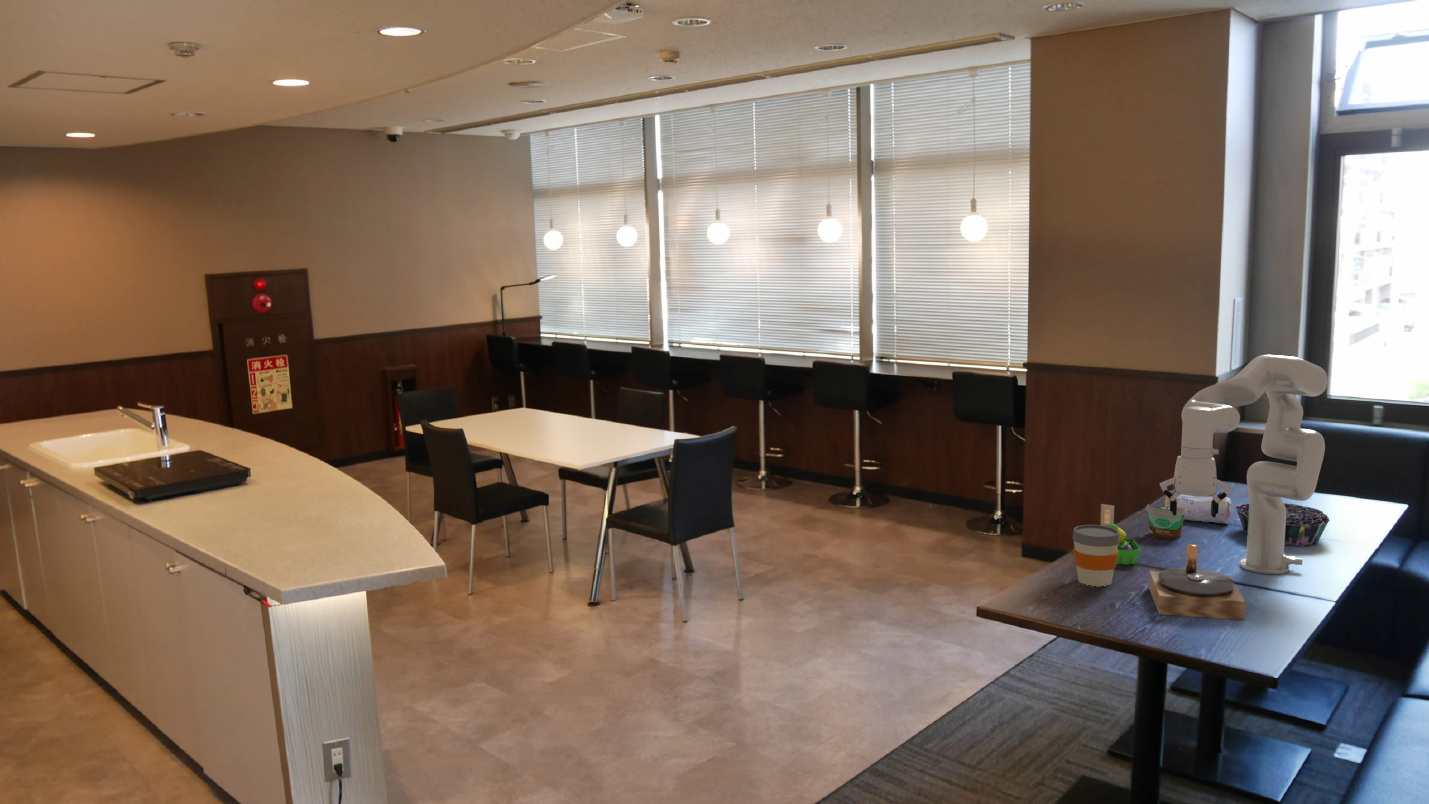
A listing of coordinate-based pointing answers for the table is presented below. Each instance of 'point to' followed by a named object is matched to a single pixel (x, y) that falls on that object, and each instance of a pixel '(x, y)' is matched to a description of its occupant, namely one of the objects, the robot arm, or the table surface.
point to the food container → (1165, 522)
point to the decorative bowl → (1295, 523)
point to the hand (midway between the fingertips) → (1193, 515)
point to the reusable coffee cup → (1095, 553)
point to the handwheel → (1195, 578)
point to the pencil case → (1202, 508)
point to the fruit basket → (1126, 548)
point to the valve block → (1196, 602)
